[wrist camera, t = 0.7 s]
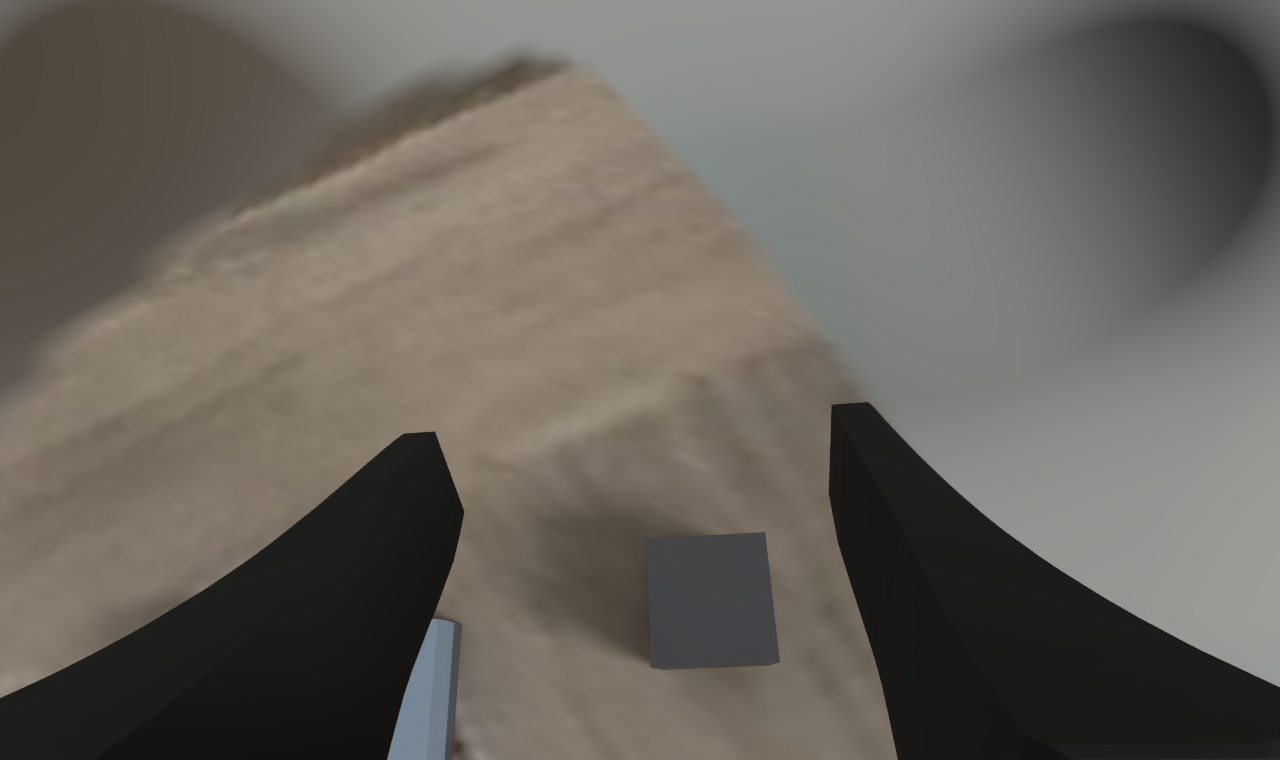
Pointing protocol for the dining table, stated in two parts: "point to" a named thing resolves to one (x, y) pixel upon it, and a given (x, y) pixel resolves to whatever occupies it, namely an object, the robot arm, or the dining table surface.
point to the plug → (710, 602)
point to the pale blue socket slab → (430, 698)
